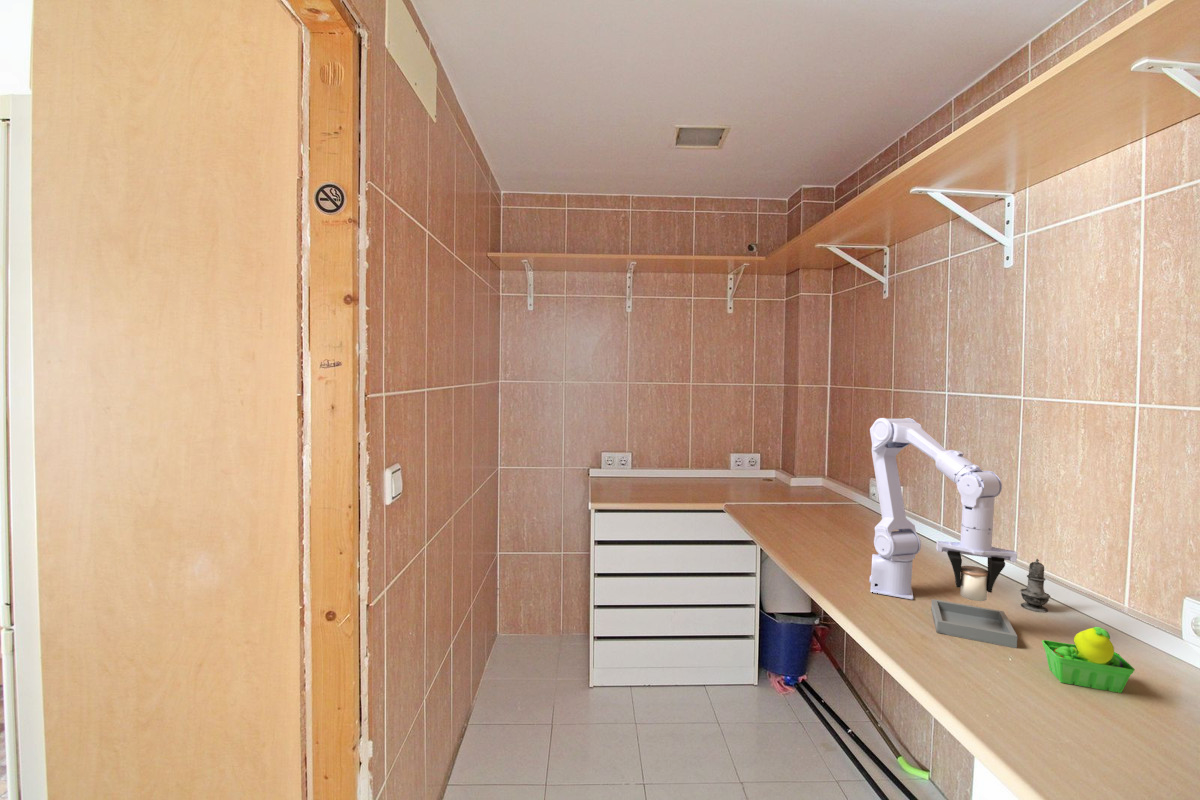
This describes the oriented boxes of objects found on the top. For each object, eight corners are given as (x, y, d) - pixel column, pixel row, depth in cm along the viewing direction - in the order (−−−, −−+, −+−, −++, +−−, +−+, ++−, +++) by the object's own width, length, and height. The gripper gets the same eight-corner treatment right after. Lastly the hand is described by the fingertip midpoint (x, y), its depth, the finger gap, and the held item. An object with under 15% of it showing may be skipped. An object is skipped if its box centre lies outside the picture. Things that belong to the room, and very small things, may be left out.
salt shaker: (1055, 614, 134) (1058, 563, 134) (1026, 611, 135) (1030, 561, 135) (1041, 604, 140) (1044, 556, 139) (1014, 601, 141) (1017, 553, 141)
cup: (959, 598, 124) (960, 571, 124) (958, 590, 129) (959, 564, 129) (988, 603, 122) (989, 575, 122) (986, 594, 126) (987, 568, 126)
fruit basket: (1112, 677, 106) (1116, 617, 105) (1139, 702, 97) (1143, 637, 97) (1038, 665, 110) (1042, 607, 109) (1058, 688, 101) (1062, 626, 101)
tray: (936, 632, 122) (937, 621, 122) (931, 609, 135) (931, 598, 135) (1016, 648, 116) (1017, 636, 116) (1003, 622, 129) (1003, 611, 129)
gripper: (939, 526, 124) (936, 588, 125) (1021, 536, 118) (1017, 601, 118) (936, 519, 130) (933, 578, 131) (1014, 528, 124) (1010, 590, 125)
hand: (973, 588), depth 125 cm, fingers closed on cup, 5 cm apart
